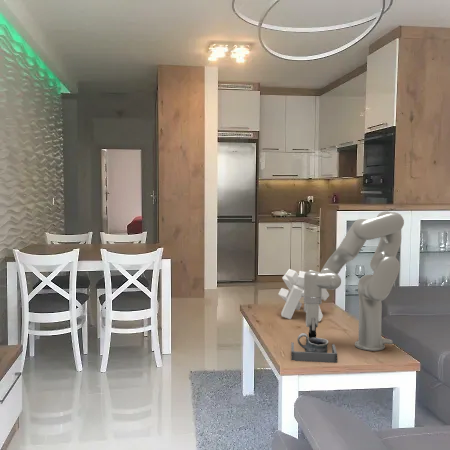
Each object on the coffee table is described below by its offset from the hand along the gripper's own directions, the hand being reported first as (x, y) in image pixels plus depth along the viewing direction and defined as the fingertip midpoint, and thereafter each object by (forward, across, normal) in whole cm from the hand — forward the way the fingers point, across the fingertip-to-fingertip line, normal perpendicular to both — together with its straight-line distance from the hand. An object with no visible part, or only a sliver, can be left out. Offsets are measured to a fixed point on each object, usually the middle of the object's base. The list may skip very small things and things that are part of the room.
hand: (312, 341), depth 214 cm
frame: (+3, +13, 0) cm, 13 cm away
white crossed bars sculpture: (+3, -56, -1) cm, 56 cm away
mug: (+3, +14, -1) cm, 14 cm away
